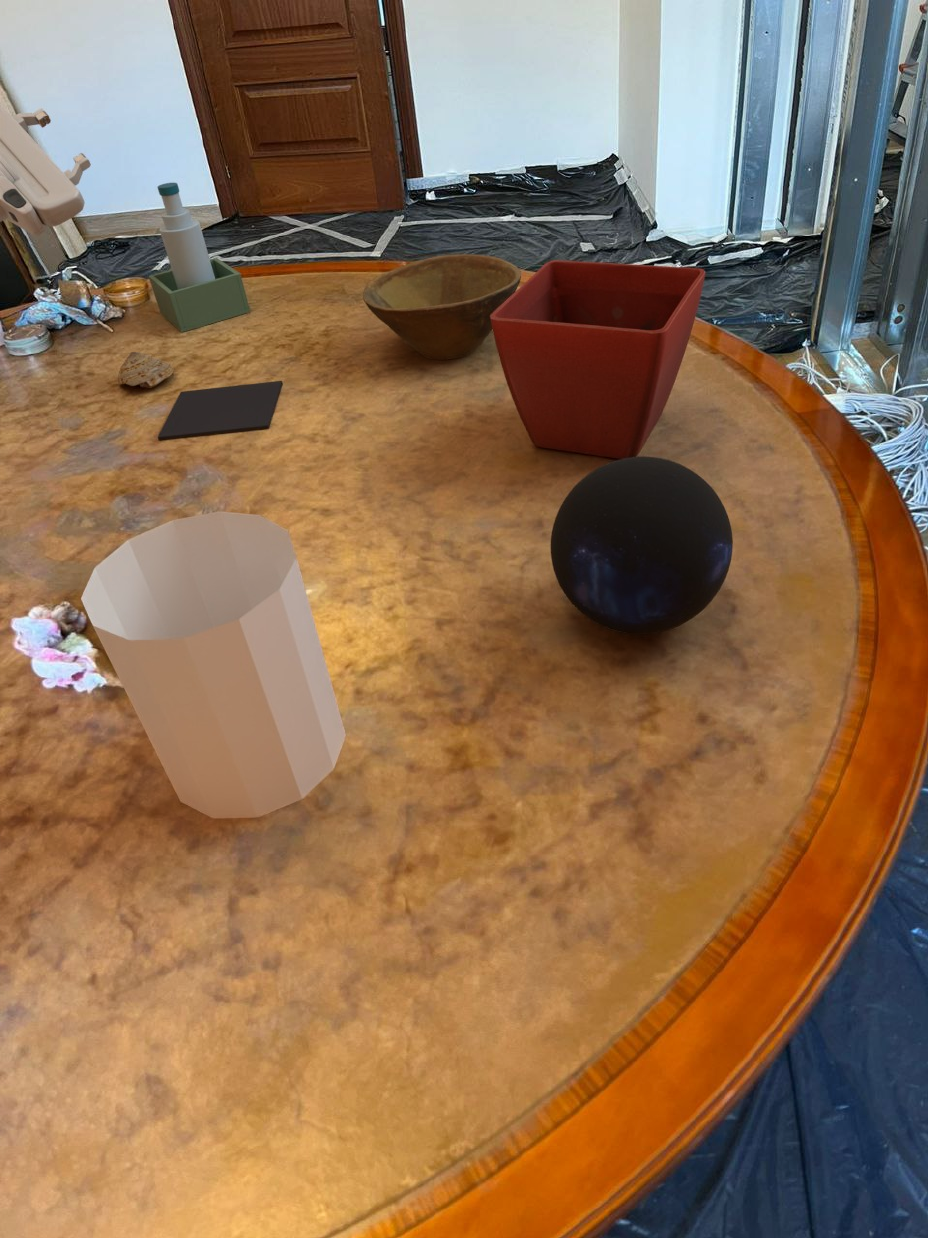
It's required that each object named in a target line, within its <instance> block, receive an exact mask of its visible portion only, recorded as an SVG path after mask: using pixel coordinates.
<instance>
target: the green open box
mask: <svg viewBox="0 0 928 1238" xmlns="http://www.w3.org/2000/svg"><path fill="white" fill-rule="evenodd" d="M209 259H210V262H211V266H212V269H213V273H214V276H215V279H214V280H211V281H207V282H204V283H200V284H196V285H193V286H189V287H186V288H182V289H179V290H178V288H177V285H176V282H175V278H174V275H173V272H172V269H169V270H166V271H162V272H158V273H155V274H154V273H153V274H151V275H148V279H149V283H150V285H151V288H152V292H153V294H154V298H155V300H156V304H157V306H158V309H159V312H160V314H161V315H162V317H164V318H165V319H166V320H167V321H168V322H170V324H171V325H173V326H174V327H175V328H176V329H177V330H178V331H179V332H180V333H185V332H188V331H191V330H196V329H199V328H201V327H202V328H203V327H205V326H209V325H211V324H215V323H219V322H222V321H225V320H228V319H232V318H235V317H239V316H242V315H245V314H249V313H252V312H251V308H250V304H249V300H248V297H247V292H246V289H245V285H244V282H243V278H242V274H241V272H239V271H238V270H236V269H234V268H233V267H231V266H230V265H228V264H227V263H225V262H224V261H222V260H220V259H219V258H218V257H214V258H209Z"/></svg>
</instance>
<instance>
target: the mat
mask: <svg viewBox="0 0 928 1238" xmlns="http://www.w3.org/2000/svg"><path fill="white" fill-rule="evenodd" d="M282 387H283V380H275V381H266V382H256V383H247V384H237V385H229V386H221V387H211V388H202V389H193V390H184V391H180V393H179V394H178V396H177V399H175V402H174V404H173V406H172V408H171V409H170V412H169V414H168V415H167V417H166V419H165V422H164V423H163V426H162V428H161V430H160V431H159V434H158V435H157V440H158V441H165V440H174V439H183V438H193V437H194V438H195V437H202V436H210V435H211V436H212V435H221V434H232V433H239V432H248V431H250V432H251V431H259V430H268V429H270V427H271V423H272V420H273V416H274V414H275V413H274V412H275V409H276V408H277V407H276V406H277V404H278V400H279V397H280V394H281V390H282Z"/></svg>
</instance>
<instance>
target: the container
mask: <svg viewBox="0 0 928 1238" xmlns="http://www.w3.org/2000/svg"><path fill="white" fill-rule="evenodd" d="M80 600H81V602H82V604H83V606H84V609H85V612H86V614H87V616H88V618H89V620H90V623H91V625H92V627H93V629H94V631H95V633H96V636H97V637H98V639H99V641H100V643H101V645H102V647H103V649H104V652H105V653H106V655H107V657H108V659H109V662H110V663H111V665H112V667H113V670H114V671H115V673H116V675H117V678H118V679H119V681H120V683H121V685H122V688H123V690H124V691H125V694H126V695H127V697H128V699H129V702H130V703H131V706H132V707H133V709H134V711H135V713H136V716H137V717H138V719H139V722H140V724H141V725H142V728H143V730H144V732H145V734H146V735H147V738H148V740H149V741H150V743H151V746H152V748H153V750H154V752H155V753H156V755H157V758H158V759H159V761H160V763H161V766H162V768H163V769H164V772H165V773H166V776H167V778H168V780H169V781H170V784H171V786H172V788H173V789H174V792H175V794H176V795H177V798H178V800H179V802H180V803H182V804H184V805H185V806H188V807H189V808H192V809H194V810H196V811H197V812H200V813H202V814H204V815H205V816H208V817H210V818H211V819H246V818H248V819H249V818H260V817H262V816H265V815H267V814H270V813H273V812H275V811H277V810H279V809H283V808H284V807H287V806H289V805H292V804H294V803H297V802H299V801H302V800H303V799H304V798H305V797H306V796H308V795H309V793H311V792H312V791H313V790H314V789H315V788H316V787H317V786H318V785H320V783H321V782H322V781H323V780H324V779H325V778H327V777H328V776H329V774H330V773H332V772H333V771H334V770H335V768H336V764H337V762H338V759H339V756H340V754H341V751H342V748H343V746H344V743H345V741H346V738H347V733H346V731H345V726H344V723H343V720H342V716H341V712H340V709H339V704H338V701H337V698H336V694H335V691H334V687H333V683H332V679H331V676H330V672H329V669H328V665H327V662H326V658H325V655H324V651H323V647H322V644H321V640H320V637H319V633H318V630H317V626H316V623H315V622H316V621H315V618H314V616H313V615H314V614H313V611H312V608H311V604H310V601H309V597H308V593H307V590H306V587H305V583H304V579H303V575H302V571H301V567H300V565H299V561H298V557H297V554H296V551H295V547H294V544H293V540H292V537H291V534H290V530H288V529H286V528H284V527H283V526H281V525H279V524H277V523H276V522H274V521H272V520H270V519H268V518H267V517H265V516H264V515H262V514H252V513H242V512H232V511H231V512H230V511H220V510H219V511H214V512H208V513H202V514H197V515H192V516H185V517H181V518H175V519H172V520H170V521H167V522H165V523H163V524H160V525H157V526H156V527H153V528H151V529H149V530H147V531H145V532H142V533H140V534H138V535H136V536H133V537H131V538H129V539H127V540H126V541H125V542H123V543H122V544H121V545H120V546H119V547H118V548H116V549H115V550H114V551H113V552H111V554H109V555H107V557H106V558H104V559H103V560H102V561H100V562H99V563H98V564H97V565H96V566H94V568H93V570H92V572H91V574H90V577H89V579H88V581H87V584H86V585H85V588H84V590H83V593H82V595H81V597H80Z"/></svg>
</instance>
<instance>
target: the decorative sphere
mask: <svg viewBox="0 0 928 1238" xmlns="http://www.w3.org/2000/svg"><path fill="white" fill-rule="evenodd" d="M733 539H734V538H733V530H732V526H731V521H730V518H729V515H728V513H727V510H726V508H725V506H724V504H723V502H722V500H721V498H720V496H719V495H718V494H717V492H716V491H715V489H714V488H712V486H711V485H710V484H709V483H708V482H707V481H706V480H705V479H704V478H703V477H702V476H700V475H699V474H698V473H697V472H695V471H693V470H692V469H690V468H688V467H687V466H684V465H683V464H680V463H678V462H675V461H673V460H669V459H665V458H662V457H655V456H643V455H641V456H637V457H630V458H624V459H617V460H616V459H615V460H614V461H611V462H608V463H606V464H603V465H601V466H599V467H597V468H596V469H594V470H592V471H591V472H589V473H588V474H586V475H585V476H584V477H583V478H582V479H580V480H579V481H578V482H577V483H576V484H575V485H574V486H573V487H572V489H571V490H570V491H569V492H568V494H567V495H566V496H565V498H564V499H563V501H562V503H561V505H560V506H559V508H558V511H557V512H556V516H555V519H554V522H553V525H552V529H551V536H550V558H551V565H552V569H553V572H554V575H555V577H556V581H557V583H558V585H559V587H560V589H561V590H562V592H563V593H564V595H565V597H566V598H567V600H568V601H569V602H570V604H571V605H572V606H573V607H574V608H575V609H576V610H577V611H578V612H580V614H582V615H583V616H584V617H586V618H587V619H589V620H590V621H592V622H593V623H595V624H597V625H599V626H601V627H604V628H606V629H608V630H611V631H614V632H618V633H623V634H629V635H630V634H631V635H649V634H650V635H651V634H656V633H663V632H665V631H669V630H671V629H674V628H677V627H680V626H682V625H684V624H685V623H688V622H689V621H690V620H692V619H693V618H695V617H696V616H697V615H699V614H700V613H702V611H704V610H705V609H706V608H707V606H709V605H710V603H711V602H712V601H713V600H714V598H715V597H716V596H717V595H718V593H719V592H720V590H721V588H722V586H723V584H724V583H725V580H726V578H727V575H728V573H729V570H730V566H731V562H732V556H733V548H734V547H733V545H734V540H733Z"/></svg>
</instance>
